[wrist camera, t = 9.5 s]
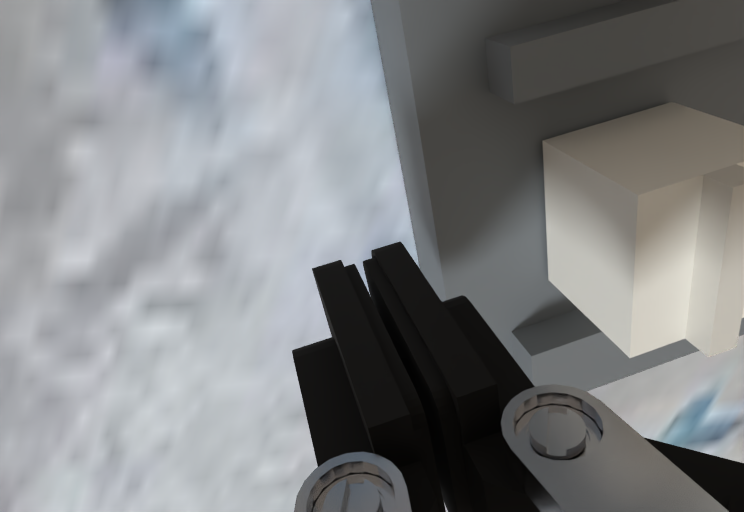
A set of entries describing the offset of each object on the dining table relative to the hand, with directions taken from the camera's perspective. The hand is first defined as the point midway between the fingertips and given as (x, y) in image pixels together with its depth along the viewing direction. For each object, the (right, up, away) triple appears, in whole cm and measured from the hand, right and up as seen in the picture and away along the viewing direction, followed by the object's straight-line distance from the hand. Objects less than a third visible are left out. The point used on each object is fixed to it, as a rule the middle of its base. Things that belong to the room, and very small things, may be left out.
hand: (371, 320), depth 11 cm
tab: (+5, +3, +2) cm, 6 cm away
